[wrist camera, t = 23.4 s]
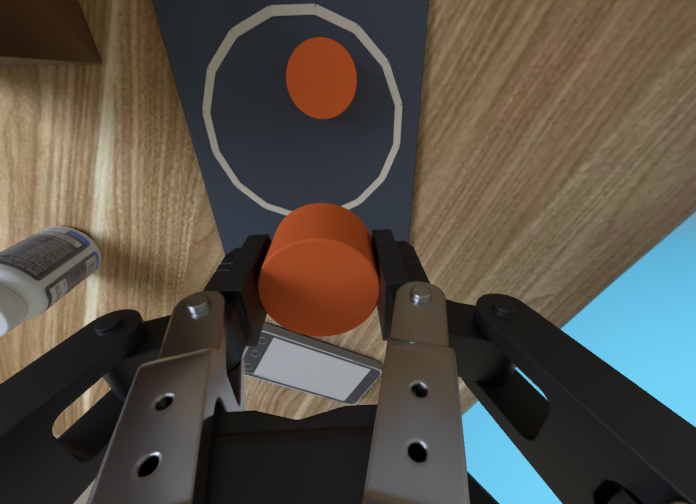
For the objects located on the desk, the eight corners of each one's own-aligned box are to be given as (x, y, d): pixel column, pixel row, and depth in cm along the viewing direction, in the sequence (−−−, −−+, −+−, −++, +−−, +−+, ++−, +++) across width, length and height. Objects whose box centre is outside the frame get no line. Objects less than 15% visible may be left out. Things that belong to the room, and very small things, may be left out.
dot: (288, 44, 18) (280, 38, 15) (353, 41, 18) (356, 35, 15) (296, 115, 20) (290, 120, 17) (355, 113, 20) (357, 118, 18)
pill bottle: (28, 232, 24) (-102, 296, 17) (78, 218, 24) (-34, 278, 17) (69, 276, 27) (-29, 350, 20) (115, 265, 26) (32, 335, 19)
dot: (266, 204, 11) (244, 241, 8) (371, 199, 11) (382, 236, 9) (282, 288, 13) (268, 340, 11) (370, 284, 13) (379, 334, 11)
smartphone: (256, 328, 29) (384, 371, 33) (258, 320, 30) (383, 363, 34) (234, 372, 32) (353, 406, 36) (237, 363, 33) (353, 398, 37)
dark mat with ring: (138, -66, 16) (130, -71, 15) (432, -75, 16) (436, -81, 15) (227, 252, 26) (224, 256, 25) (407, 244, 26) (408, 248, 26)
